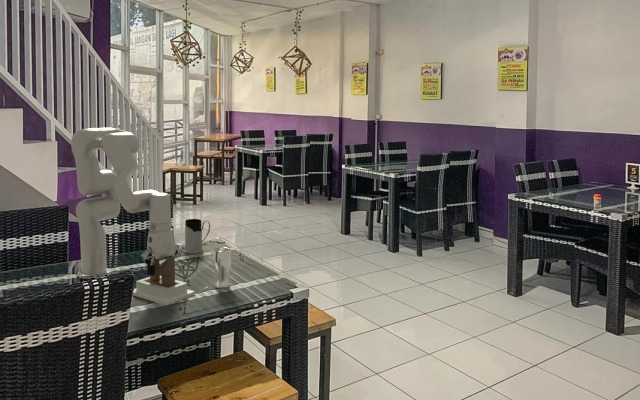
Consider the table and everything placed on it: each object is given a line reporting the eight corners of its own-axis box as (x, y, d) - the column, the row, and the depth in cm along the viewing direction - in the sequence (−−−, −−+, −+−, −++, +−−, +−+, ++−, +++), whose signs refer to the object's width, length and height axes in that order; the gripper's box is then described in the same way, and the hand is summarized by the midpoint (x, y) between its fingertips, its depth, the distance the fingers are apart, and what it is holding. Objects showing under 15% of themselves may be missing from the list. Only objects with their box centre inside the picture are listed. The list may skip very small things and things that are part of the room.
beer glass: (222, 281, 220) (222, 245, 217) (234, 286, 216) (234, 249, 213) (209, 286, 215) (209, 249, 212) (221, 290, 210) (221, 252, 208)
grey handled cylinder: (180, 250, 263) (180, 220, 260) (204, 245, 274) (204, 216, 271) (191, 254, 257) (191, 223, 255) (215, 248, 268) (215, 219, 265)
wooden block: (168, 295, 200) (167, 247, 197) (147, 289, 205) (146, 243, 202) (175, 292, 203) (174, 245, 200) (155, 286, 209) (154, 241, 205)
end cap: (128, 293, 204) (128, 281, 203) (157, 283, 215) (157, 272, 215) (166, 305, 194) (166, 292, 193) (194, 294, 205) (194, 282, 205)
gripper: (149, 232, 191) (150, 279, 194) (185, 224, 205) (185, 267, 208) (134, 229, 194) (135, 275, 198) (170, 221, 209) (171, 264, 212)
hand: (161, 271), depth 203 cm, fingers open, 9 cm apart
